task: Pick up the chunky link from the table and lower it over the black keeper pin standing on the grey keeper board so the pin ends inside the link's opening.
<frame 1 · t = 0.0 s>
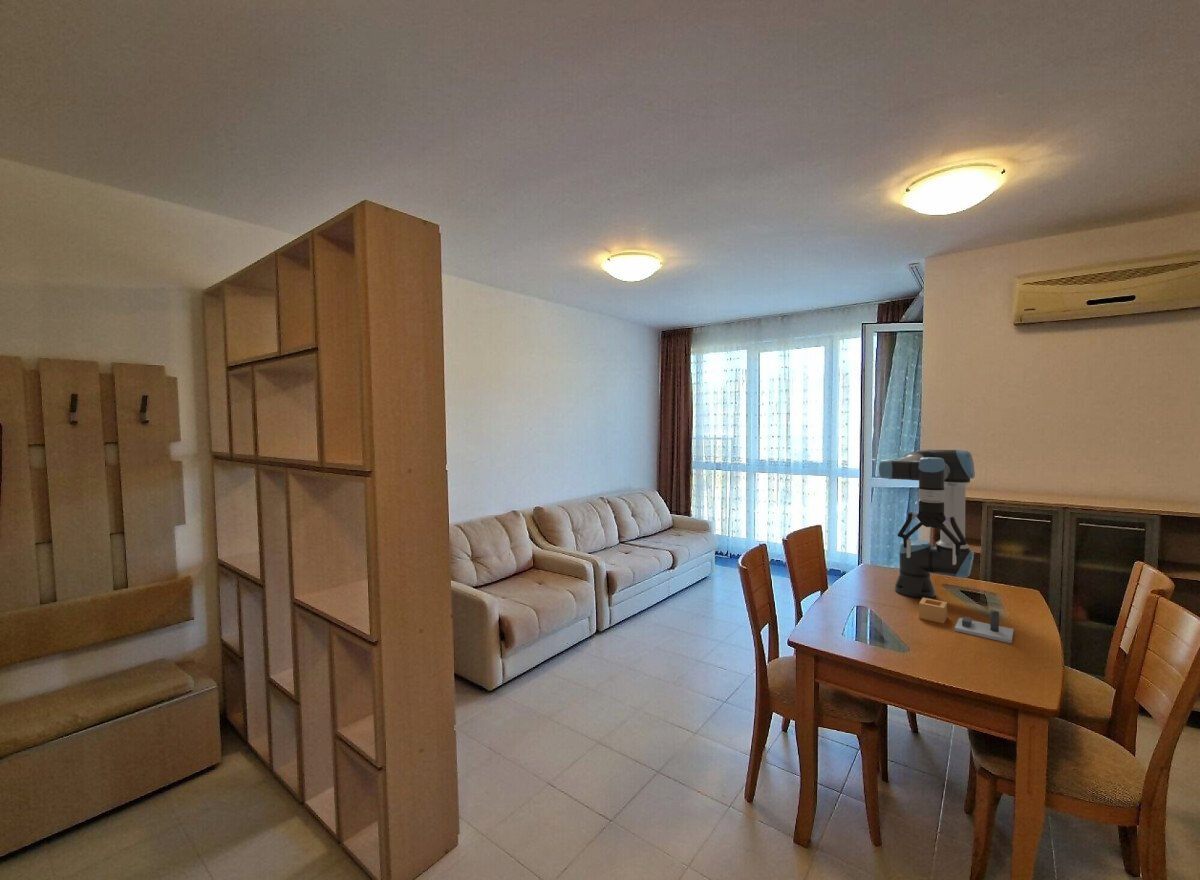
hand: (930, 560, 173), 28 cm above the table, fingers open, 13 cm apart
keeper board: (983, 631, 178), on the table
link: (933, 617, 191), on the table
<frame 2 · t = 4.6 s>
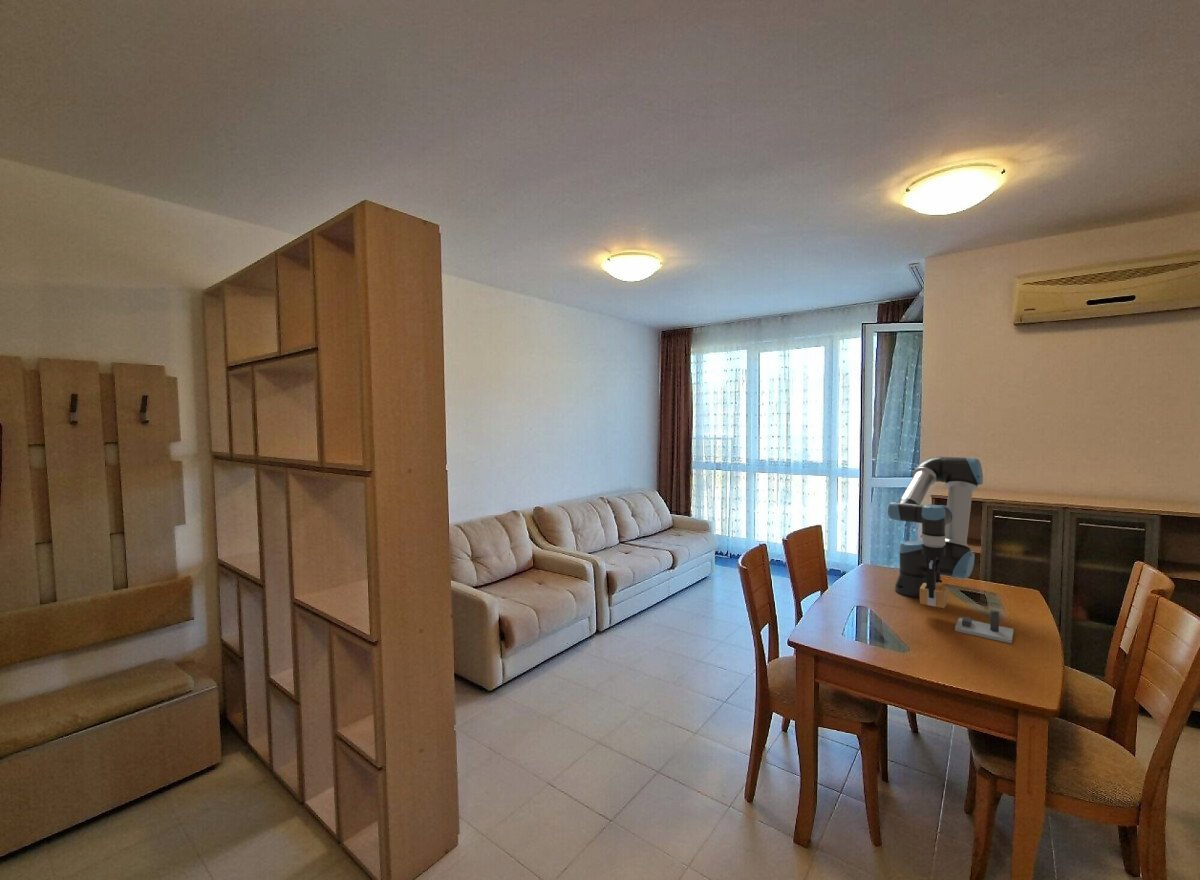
hand: (933, 601, 191), 6 cm above the table, fingers closed on link, 8 cm apart
link: (933, 602, 191), point 6 cm above the table, touching gripper
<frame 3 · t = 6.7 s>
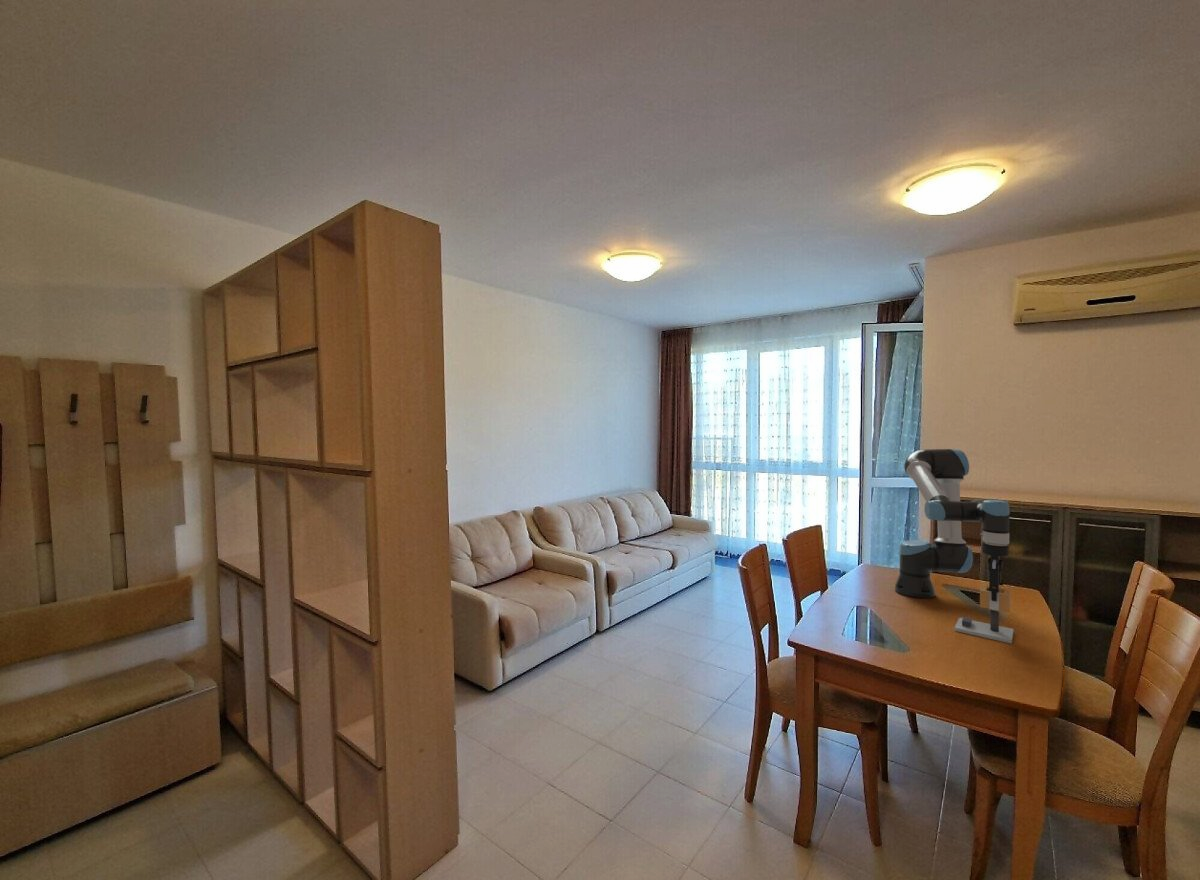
hand: (995, 606, 175), 10 cm above the table, fingers closed on link, 8 cm apart
link: (995, 606, 175), point 10 cm above the table, touching gripper
when the fingers open (2 cm above the table, at t = 8.8 s): link stays where it is, resting on keeper board.
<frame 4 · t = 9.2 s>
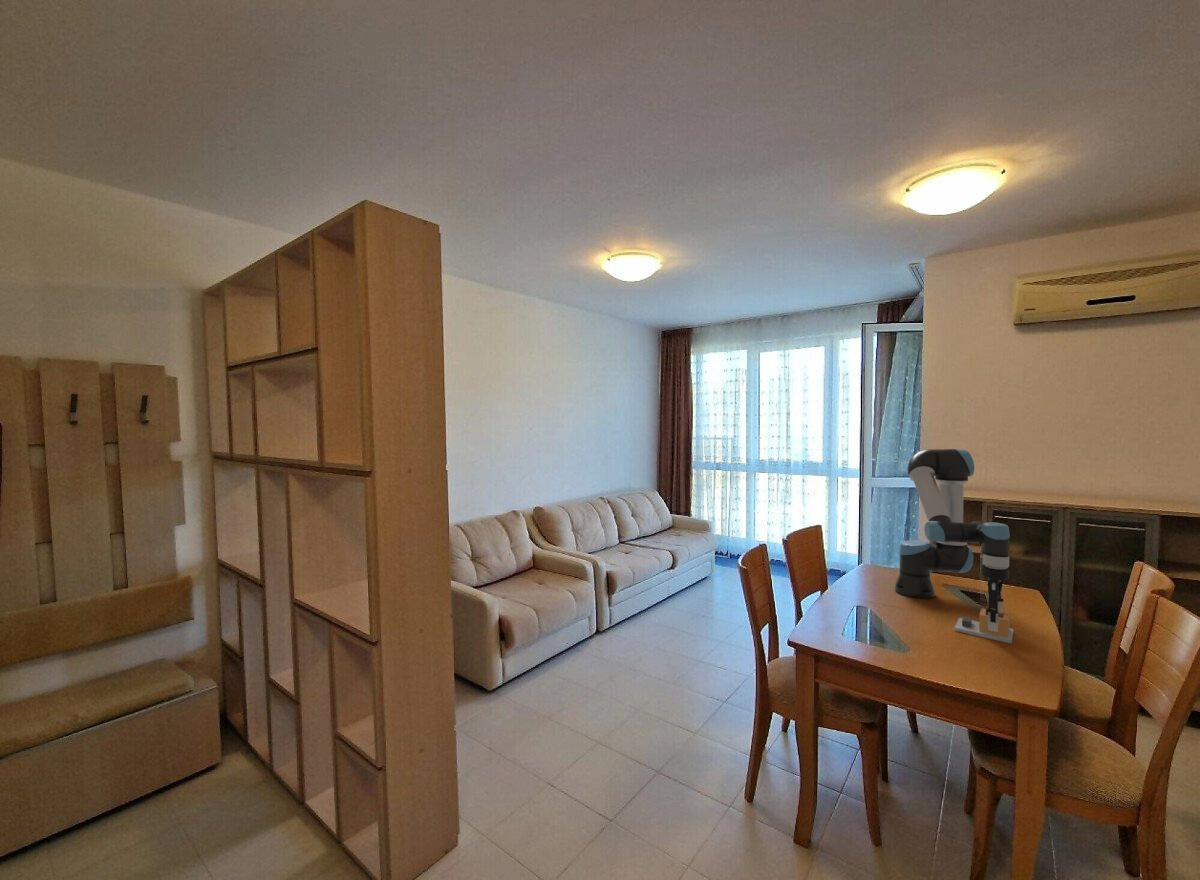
hand: (994, 624, 176), 3 cm above the table, fingers open, 13 cm apart
link: (994, 630, 176), point 1 cm above the table, touching keeper board
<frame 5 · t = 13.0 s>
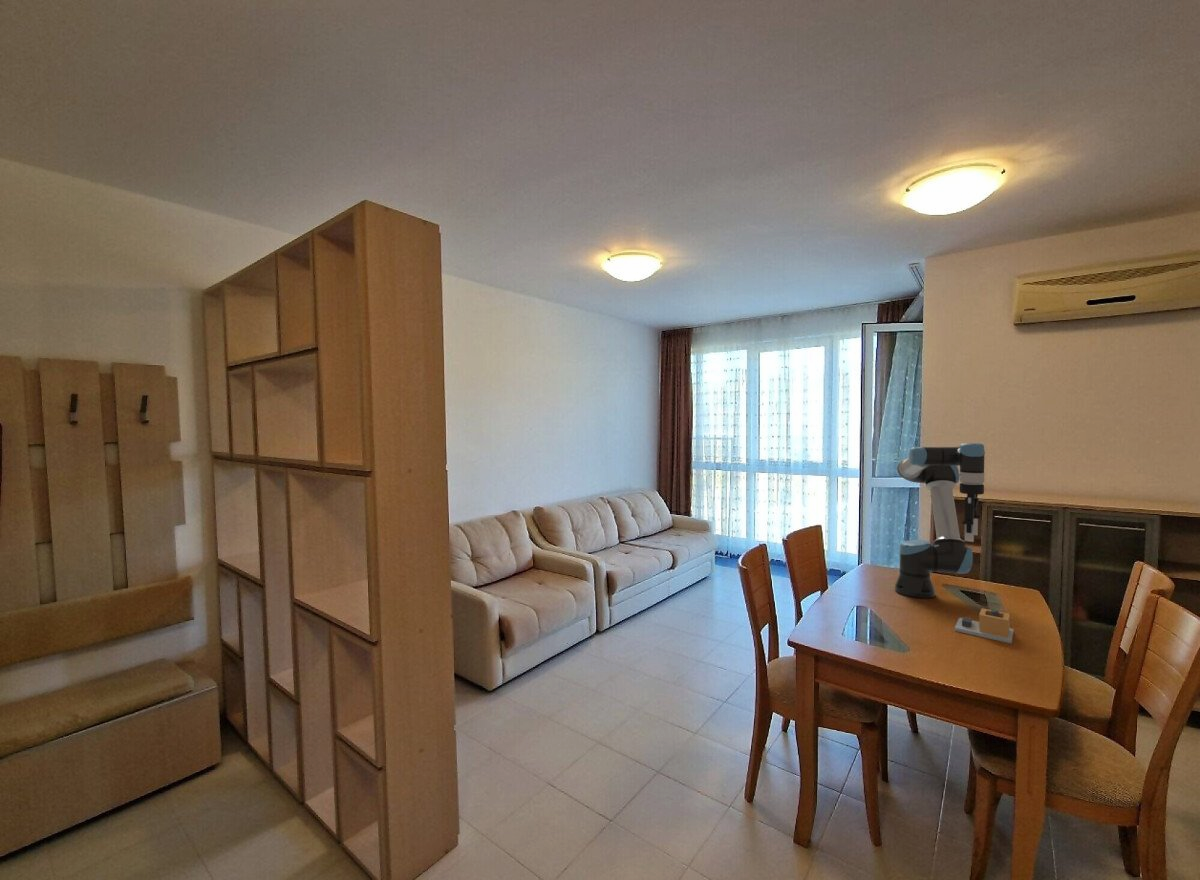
hand: (971, 538, 188), 32 cm above the table, fingers open, 13 cm apart
nothing on the table moved.
at the end: link 0.1 cm from the target spot on the keeper board, point 1.2 cm above the keeper board's base; the gripper is holding nothing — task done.
